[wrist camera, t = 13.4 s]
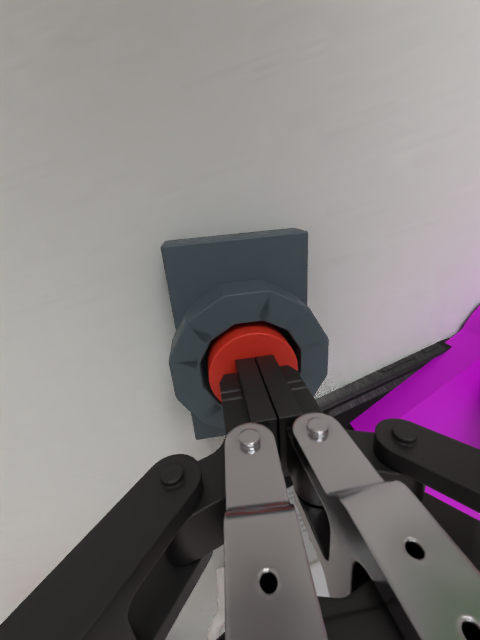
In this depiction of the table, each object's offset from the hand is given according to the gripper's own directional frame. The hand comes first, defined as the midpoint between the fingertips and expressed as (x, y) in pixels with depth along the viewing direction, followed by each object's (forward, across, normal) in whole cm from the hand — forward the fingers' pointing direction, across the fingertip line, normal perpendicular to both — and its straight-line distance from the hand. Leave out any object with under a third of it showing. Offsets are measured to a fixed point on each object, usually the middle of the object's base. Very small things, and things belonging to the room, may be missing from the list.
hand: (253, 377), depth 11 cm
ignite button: (+2, 0, 0) cm, 2 cm away
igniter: (+4, 0, 0) cm, 4 cm away
